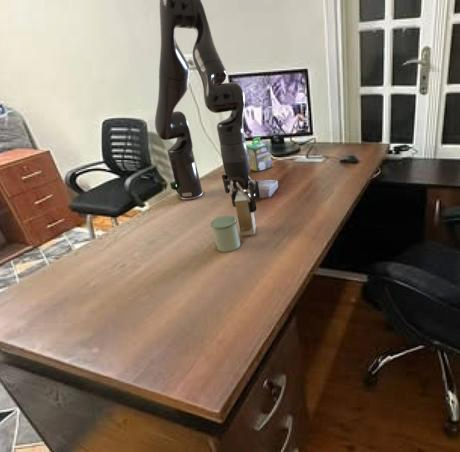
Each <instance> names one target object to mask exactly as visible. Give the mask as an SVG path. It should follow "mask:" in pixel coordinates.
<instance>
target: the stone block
mask: <svg viewBox="0 0 460 452" xmlns="http://www.w3.org/2000/svg"><path fill="white" fill-rule="evenodd" d="M258 187H259V194H260V198H259V199H270V198H271V197H272V196H273V194H274V193H275V192H276V190H277V189H278V188H279V181H278V180H272V179H263V180H259V181H258ZM254 194H255V195H256V193H254Z"/></svg>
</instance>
